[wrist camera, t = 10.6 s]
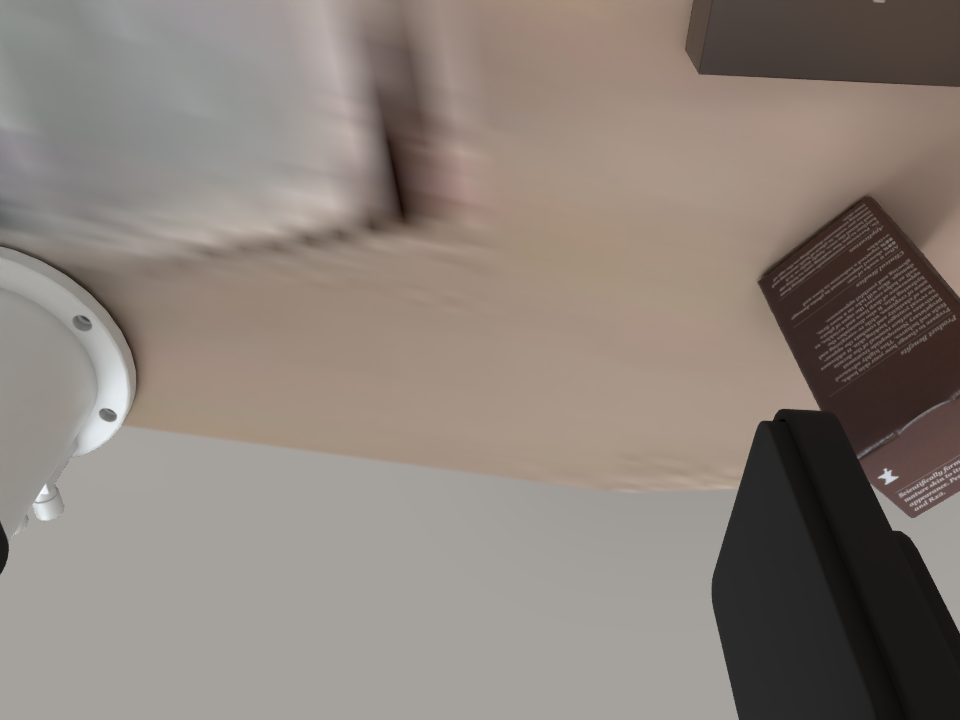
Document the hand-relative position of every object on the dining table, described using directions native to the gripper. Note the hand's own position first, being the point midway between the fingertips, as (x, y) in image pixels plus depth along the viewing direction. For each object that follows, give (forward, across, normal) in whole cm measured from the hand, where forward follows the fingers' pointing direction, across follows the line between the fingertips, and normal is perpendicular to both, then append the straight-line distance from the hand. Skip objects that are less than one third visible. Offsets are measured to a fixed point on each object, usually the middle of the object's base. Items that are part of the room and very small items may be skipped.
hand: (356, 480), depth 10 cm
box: (+26, -17, +11) cm, 33 cm away
